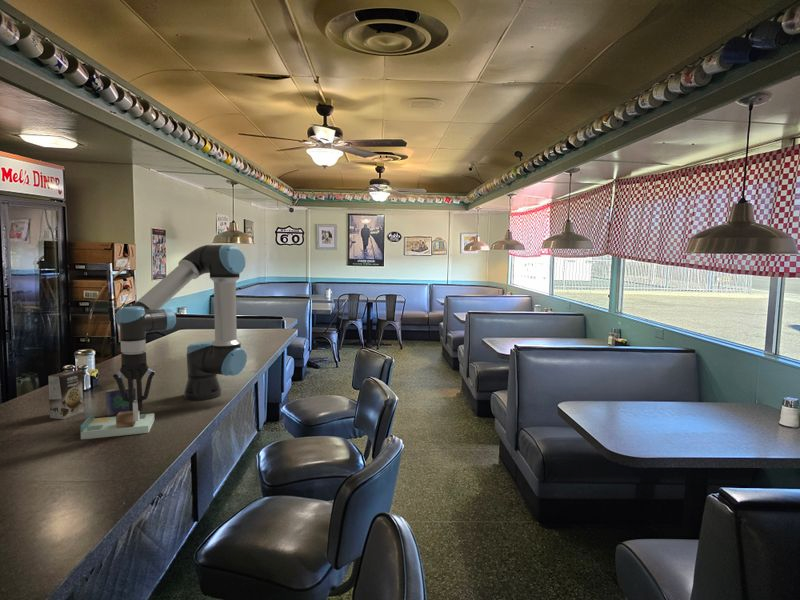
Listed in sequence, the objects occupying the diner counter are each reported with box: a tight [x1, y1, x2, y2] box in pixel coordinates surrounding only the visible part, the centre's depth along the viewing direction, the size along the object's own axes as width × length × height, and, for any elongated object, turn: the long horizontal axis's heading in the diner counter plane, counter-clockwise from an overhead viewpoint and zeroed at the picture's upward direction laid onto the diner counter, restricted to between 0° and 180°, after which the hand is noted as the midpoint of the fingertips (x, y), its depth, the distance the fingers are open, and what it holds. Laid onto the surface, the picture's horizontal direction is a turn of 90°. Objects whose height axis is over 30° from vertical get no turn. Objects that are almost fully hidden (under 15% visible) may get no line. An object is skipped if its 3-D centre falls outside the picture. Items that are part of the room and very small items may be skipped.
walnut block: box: [115, 411, 136, 428], centre depth 169 cm, size 5×5×4 cm
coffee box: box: [47, 370, 84, 420], centre depth 186 cm, size 9×6×16 cm
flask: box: [105, 386, 137, 417], centre depth 189 cm, size 10×3×12 cm, turn 121°
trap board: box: [79, 412, 156, 440], centre depth 172 cm, size 20×14×4 cm
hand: (136, 419), depth 170 cm, fingers closed
